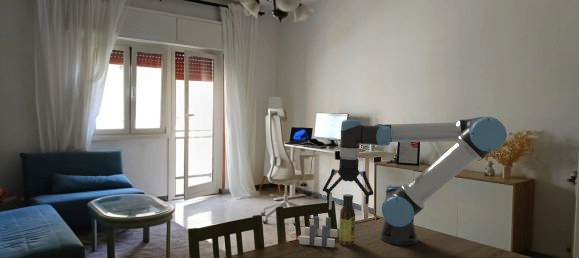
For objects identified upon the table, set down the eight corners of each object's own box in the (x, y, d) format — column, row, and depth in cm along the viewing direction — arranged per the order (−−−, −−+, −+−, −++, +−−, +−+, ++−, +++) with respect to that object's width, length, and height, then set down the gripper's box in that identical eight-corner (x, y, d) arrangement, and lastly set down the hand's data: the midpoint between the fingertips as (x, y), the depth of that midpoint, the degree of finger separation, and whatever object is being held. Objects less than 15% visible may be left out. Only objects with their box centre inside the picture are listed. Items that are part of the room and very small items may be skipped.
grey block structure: (337, 236, 169) (337, 218, 168) (334, 247, 156) (334, 227, 155) (305, 233, 172) (305, 215, 171) (299, 244, 158) (299, 224, 158)
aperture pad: (317, 236, 168) (317, 235, 168) (315, 243, 160) (315, 241, 160) (299, 235, 169) (299, 233, 169) (295, 241, 162) (295, 239, 161)
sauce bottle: (354, 247, 156) (355, 197, 155) (338, 245, 158) (339, 196, 157) (354, 241, 163) (356, 194, 162) (339, 240, 164) (341, 193, 163)
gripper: (380, 158, 160) (378, 210, 161) (319, 155, 165) (317, 205, 166) (381, 161, 152) (378, 215, 153) (317, 157, 157) (315, 209, 158)
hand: (347, 210), depth 160 cm, fingers open, 13 cm apart
